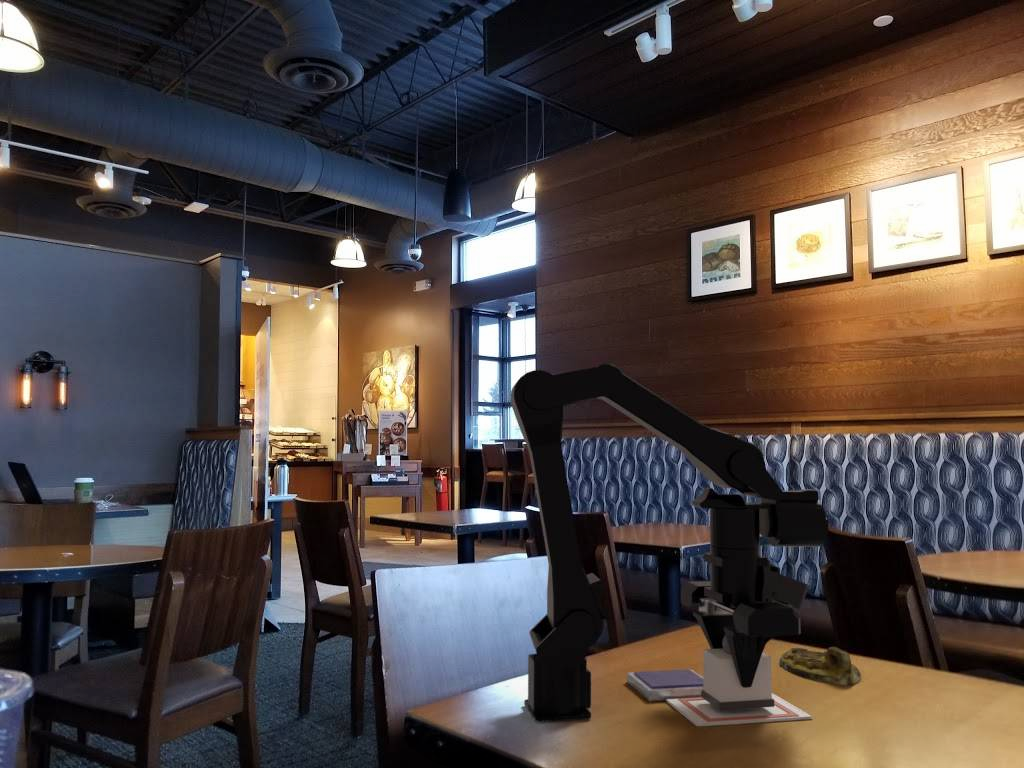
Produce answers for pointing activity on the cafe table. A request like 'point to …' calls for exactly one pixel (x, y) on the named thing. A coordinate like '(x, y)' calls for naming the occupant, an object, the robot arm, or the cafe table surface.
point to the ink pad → (666, 684)
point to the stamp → (734, 681)
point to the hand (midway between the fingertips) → (736, 681)
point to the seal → (822, 665)
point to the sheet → (735, 712)
